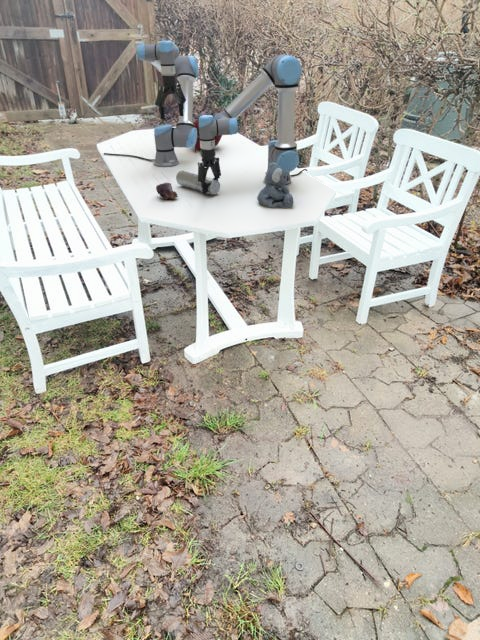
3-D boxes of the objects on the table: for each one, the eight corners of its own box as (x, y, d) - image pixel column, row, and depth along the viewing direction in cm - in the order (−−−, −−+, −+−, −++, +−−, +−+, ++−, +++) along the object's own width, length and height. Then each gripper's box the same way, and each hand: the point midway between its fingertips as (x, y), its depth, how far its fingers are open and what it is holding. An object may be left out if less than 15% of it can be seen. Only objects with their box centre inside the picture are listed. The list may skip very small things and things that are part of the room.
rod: (176, 186, 254) (175, 172, 250) (187, 182, 259) (185, 169, 255) (210, 196, 239) (209, 182, 235) (220, 192, 243) (219, 178, 239)
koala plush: (294, 208, 225) (297, 169, 214) (259, 209, 224) (259, 170, 213) (288, 196, 240) (290, 159, 229) (255, 198, 239) (255, 160, 227)
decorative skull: (188, 123, 330) (185, 120, 306) (219, 116, 329) (218, 112, 306) (194, 153, 337) (192, 152, 313) (225, 146, 336) (225, 145, 313)
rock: (172, 196, 246) (154, 198, 242) (170, 179, 242) (152, 182, 238) (179, 199, 236) (161, 201, 232) (177, 182, 233) (159, 184, 229)
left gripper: (154, 77, 230) (159, 121, 242) (190, 73, 245) (193, 115, 257) (145, 76, 234) (150, 120, 246) (181, 72, 249) (184, 113, 261)
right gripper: (198, 153, 222) (201, 198, 235) (226, 145, 234) (228, 188, 247) (187, 151, 226) (191, 195, 239) (216, 143, 238) (218, 185, 251)
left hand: (172, 117), depth 252 cm, fingers open, 13 cm apart
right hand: (210, 192), depth 243 cm, fingers closed on rod, 8 cm apart
